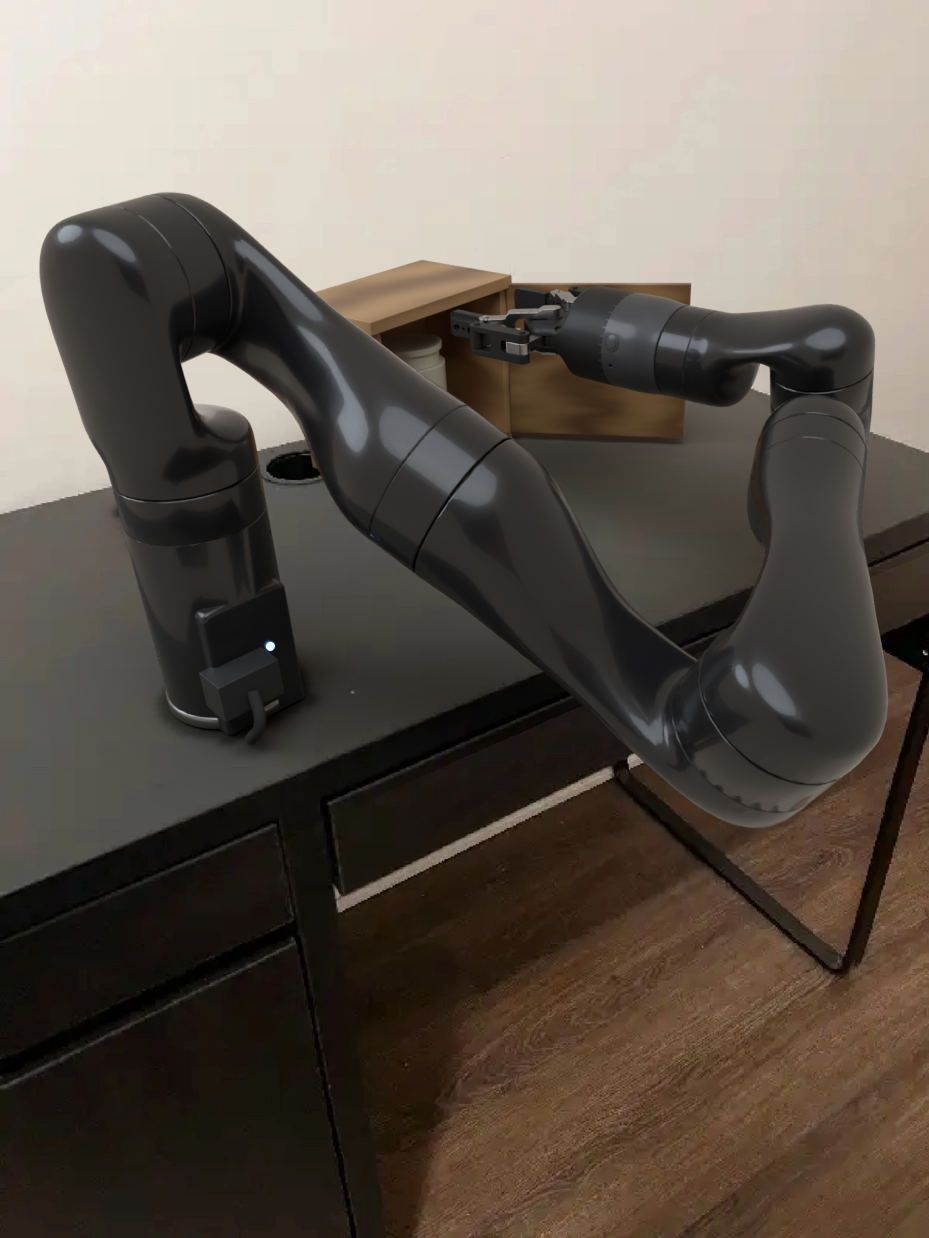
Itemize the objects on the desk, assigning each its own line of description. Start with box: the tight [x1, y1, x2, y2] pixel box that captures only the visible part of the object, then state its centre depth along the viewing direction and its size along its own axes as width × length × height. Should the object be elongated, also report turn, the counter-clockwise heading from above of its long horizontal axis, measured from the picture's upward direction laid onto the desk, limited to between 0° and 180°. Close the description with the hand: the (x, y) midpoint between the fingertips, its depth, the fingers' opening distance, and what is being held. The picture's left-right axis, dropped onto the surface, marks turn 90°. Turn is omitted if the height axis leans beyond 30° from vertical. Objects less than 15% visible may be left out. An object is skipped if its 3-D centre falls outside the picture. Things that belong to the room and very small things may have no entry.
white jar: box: [381, 333, 447, 391], centre depth 105 cm, size 7×6×11 cm
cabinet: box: [309, 259, 692, 470], centre depth 103 cm, size 28×28×17 cm
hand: (486, 310), depth 93 cm, fingers open, 8 cm apart
